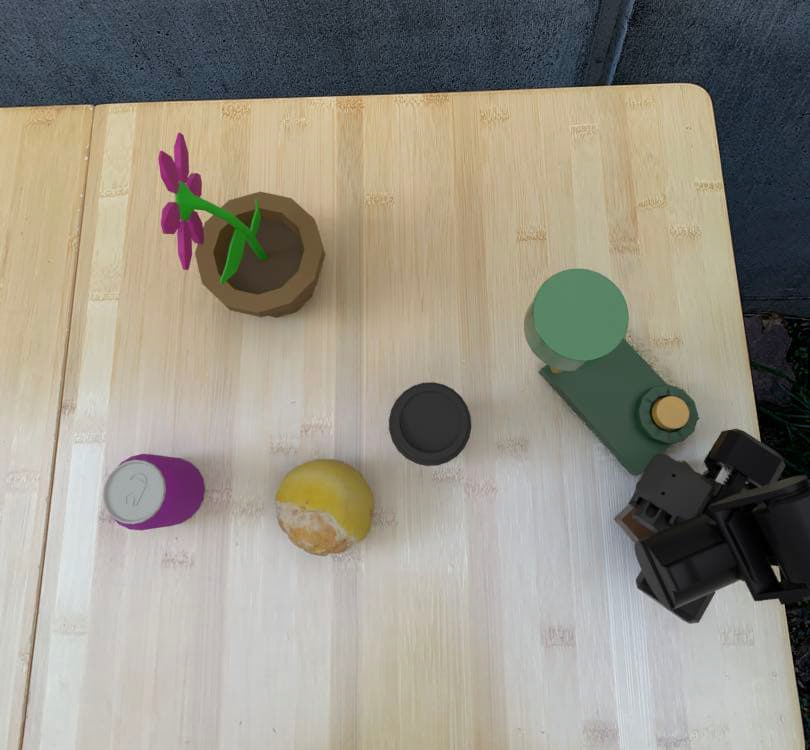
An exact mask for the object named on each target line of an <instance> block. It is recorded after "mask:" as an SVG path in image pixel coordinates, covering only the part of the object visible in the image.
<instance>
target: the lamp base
mask: <svg viewBox="0 0 810 750" xmlns="http://www.w3.org/2000/svg"><path fill="white" fill-rule="evenodd" d="M631 345H632V344H630V343H629V342H628V341H627V340H626V339H625V337H624V338H623V340H622V342H621V343H620V344H619V346H618V347H617V348H616V349H615V350H613V351H612V352H611V353H610V354H608V355H607V356H605V357H604V358H602V359H601V360H600V361H598V362H597V363H595V364H594V365H592V366H590V367H588V368H586V369H582V370H578V371H563V372H561V373H560V374H554V373H553V372H552V371H551V370H550V366H549V365H547V364H545V365H544V366H543V367H542V368H541V369H540V370H539V371H538V373H539V375H540V376H541V377H542V378H543V379H544V380H545V381H546V382H547V383H548V384H549V386H551V388H553V389H554V391H555V392H556V393H557V395H559V396H560V397H561V399H562V400H563V401H564V402H565V403H566V404H567V405H568V407H569V408H570V409H571V410H572V411H573V412H574V413H575V414H576V416H577V417H579V419H580V420H581V421H582V422H583V423H584V424H585V425H586V426H587V428H588V429H589V430H590V431H591V432H592V434H594V436H595V437H597V439H598V440H599V441H600V442H601V443H602V444H603V445H604V446H605V447H606V449H607V450H608V451H609V452H610V453H611V454H612V455H613V457H615V459H616V460H617V461H618V462H619V463H620V464H621V465H622V466H623V467H624V469H625V470H626V471H628V474H630V475H631V476H632V477H634V476H635V477H637V476H639V475H641V473H644V471H645V469H646V468H647V466H648V464H649V463H650V461H651V459H652V458H653V457H654V456H655V455H657V454H664V452H665V451H667V450H668V449H669V448H670V447H671V446H672V445H673V444H674V443H676V444H677V443H680V442H681V443H682V442H684V441H686V440H687V439H688V438H689V437H690V436H691V435H693V433H695V431H696V427H697V424H698V421H699V420H700V417H699V414H698V410H697V406H696V403H695V400H694V399H693V398H692V397H691V396H690V395H689V394H688V392H687V391H685V390H684V389H683V388H681V387H677V386H674V385H672V384H669V383H667V382H666V380H664V379H663V378H662V377H661V376H660V375H659V374H658V372H656V371H655V370H654V369H653V368H652V366H651V365H650V364H649V363H648V362H647V361H646V360H645V359H644V358H643V357H642V356H641V355H640V354H639V353H638V351H636V349H635V348H634V347H633V346H631ZM668 396H674V397H678V398H680V399H681V400H683V401H684V402H685V403H686V405H687V407H688V409H689V419H688V421H687V423H686V424H685V425H684V426H682V427H680V428H677V429H673V430H665V429H662V428H660V427H659V426H658V425H657V424H656V423H655V422H654V420H653V418H652V408H653V405H654V404H655V403H656V402H657V401H658V400H660V399H662V398H665V397H668Z"/></svg>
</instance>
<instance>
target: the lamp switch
mask: <svg viewBox="0 0 810 750" xmlns="http://www.w3.org/2000/svg"><path fill="white" fill-rule="evenodd" d="M652 418H653V420H654V422H655V423H656V424H657V425H658V426H659V427H660V428H662V429H665V430H673V429H677V428H680V427H682V426H684V425H685V424H686V423H687V421H688V419H689V409H688V407H687V405H686V403H685V402H684V401H683V400H681V399H680V398H678V397H674V396H668V397H665V398H662V399H660V400H658V401H657V402H656V403H655V404H654V405H653V408H652Z"/></svg>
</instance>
